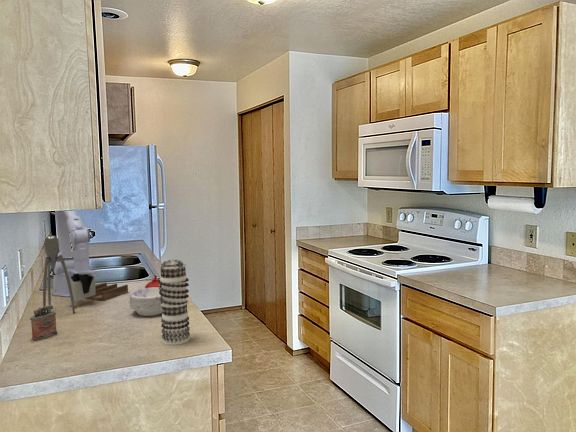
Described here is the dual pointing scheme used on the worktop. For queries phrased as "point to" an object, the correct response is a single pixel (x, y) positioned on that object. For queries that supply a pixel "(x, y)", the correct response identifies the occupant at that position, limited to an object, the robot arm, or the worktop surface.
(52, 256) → the juicer
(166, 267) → the white tower model
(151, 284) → the pomegranate
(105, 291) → the rack
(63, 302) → the worktop surface
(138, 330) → the worktop surface
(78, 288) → the clay block
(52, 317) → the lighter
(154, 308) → the white bowl
